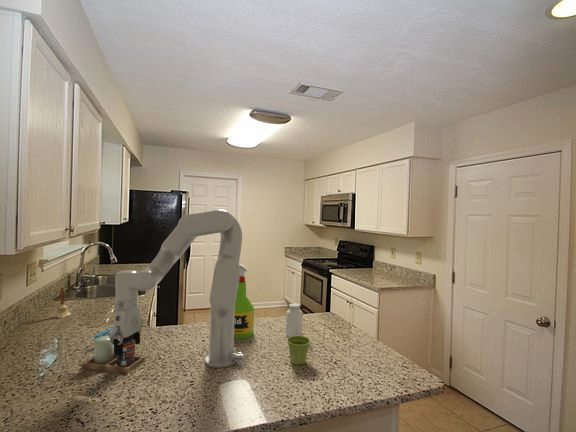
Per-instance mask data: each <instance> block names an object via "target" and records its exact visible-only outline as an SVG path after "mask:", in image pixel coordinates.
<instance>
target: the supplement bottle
mask: <svg viewBox="0 0 576 432" xmlns="http://www.w3.org/2000/svg"><path fill="white" fill-rule="evenodd" d="M132 337H133V334H132V335H130V336H128V337H126V338H123V341H122V343H121V344H123V355H121V356H120V355H117V366H121V367H128V366H130V365H131V364H133V363H134V361H135V356H136V344H135V340H134V339H133V338H132Z"/></svg>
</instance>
